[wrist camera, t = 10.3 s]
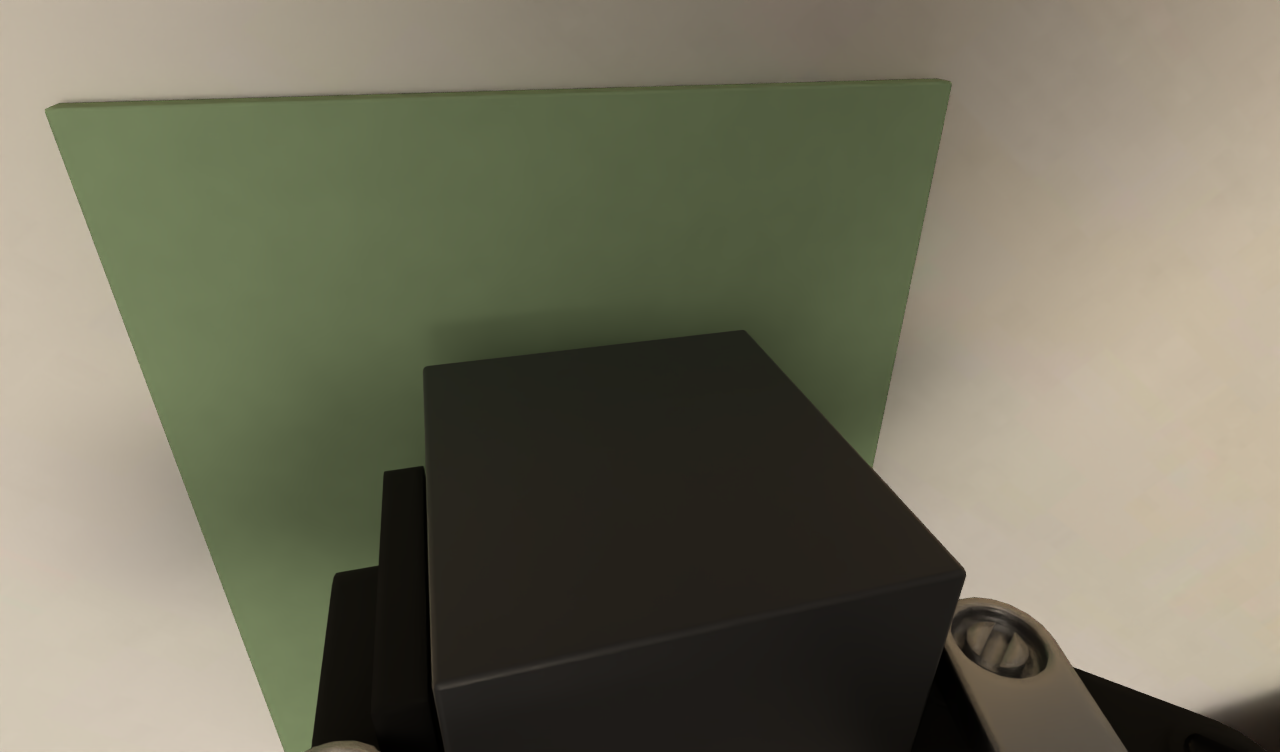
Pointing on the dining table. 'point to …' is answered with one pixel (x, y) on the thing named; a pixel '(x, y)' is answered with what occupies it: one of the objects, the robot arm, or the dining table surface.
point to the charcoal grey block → (668, 560)
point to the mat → (470, 280)
